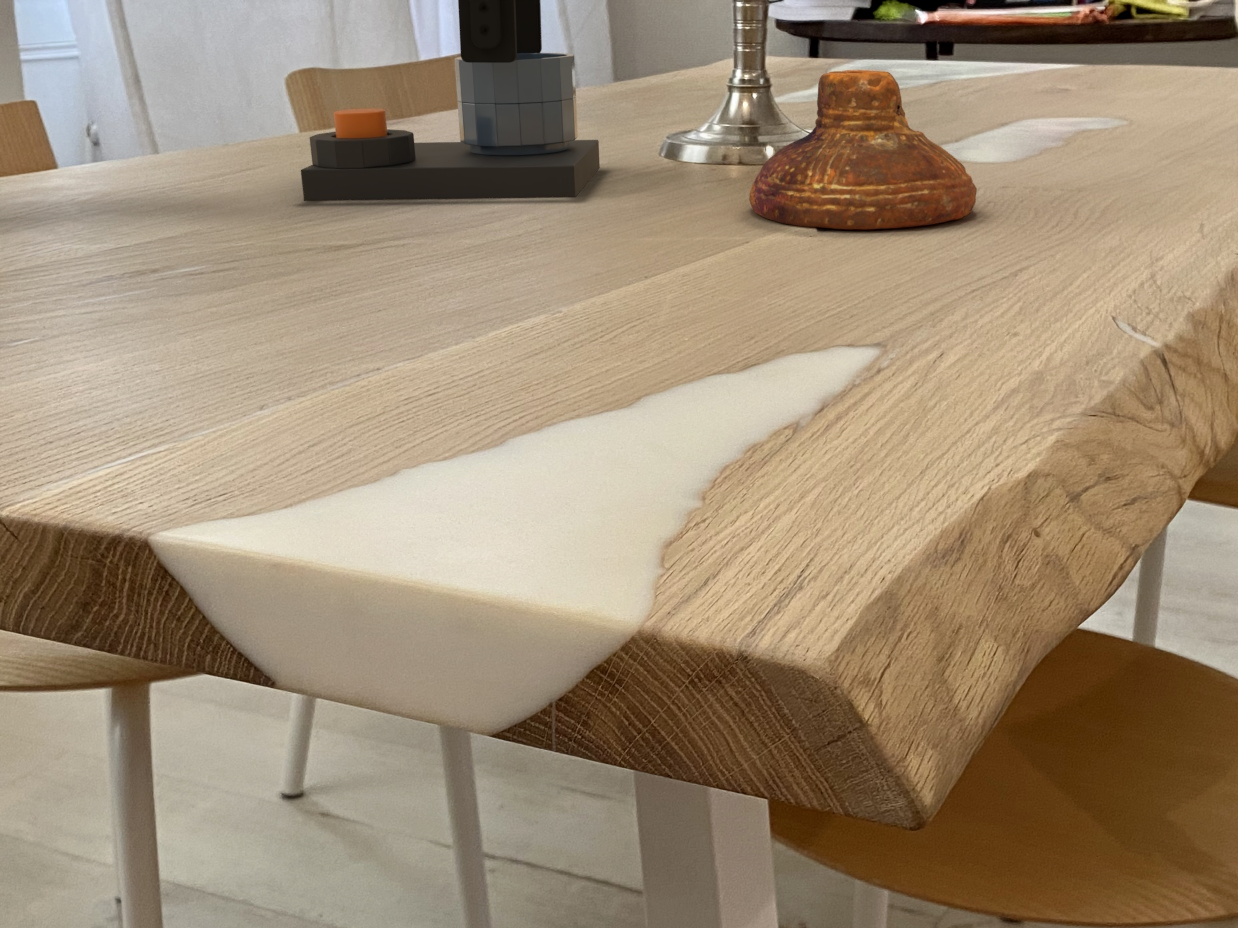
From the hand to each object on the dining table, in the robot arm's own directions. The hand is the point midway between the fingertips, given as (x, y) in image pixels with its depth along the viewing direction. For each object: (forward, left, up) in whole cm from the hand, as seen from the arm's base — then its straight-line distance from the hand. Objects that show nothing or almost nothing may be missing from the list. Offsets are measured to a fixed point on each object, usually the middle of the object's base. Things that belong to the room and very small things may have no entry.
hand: (503, 58), depth 88 cm
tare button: (-8, -5, -4) cm, 10 cm away
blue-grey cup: (+1, 0, -6) cm, 6 cm away
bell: (+21, -14, -8) cm, 26 cm away
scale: (-3, -1, -7) cm, 8 cm away
